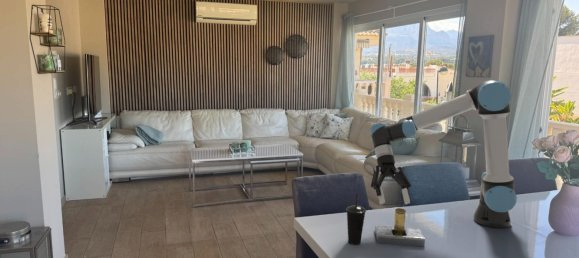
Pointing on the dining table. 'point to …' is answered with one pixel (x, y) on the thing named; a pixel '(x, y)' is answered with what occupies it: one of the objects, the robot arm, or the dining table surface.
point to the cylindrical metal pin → (399, 221)
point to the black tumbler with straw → (355, 222)
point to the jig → (399, 236)
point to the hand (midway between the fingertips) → (395, 203)
